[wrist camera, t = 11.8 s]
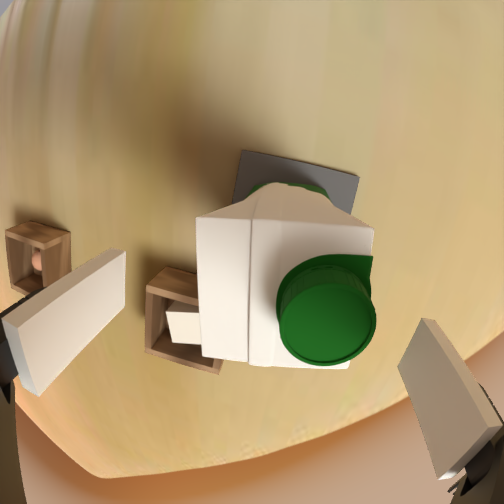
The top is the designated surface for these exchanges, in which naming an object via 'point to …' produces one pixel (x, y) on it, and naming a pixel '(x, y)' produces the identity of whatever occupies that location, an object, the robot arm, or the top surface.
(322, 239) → the soya milk
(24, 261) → the crate
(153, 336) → the crate
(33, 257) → the ball
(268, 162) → the coaster
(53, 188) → the top surface
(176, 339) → the cube
